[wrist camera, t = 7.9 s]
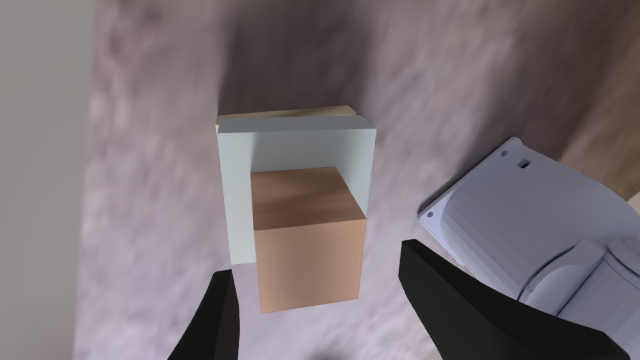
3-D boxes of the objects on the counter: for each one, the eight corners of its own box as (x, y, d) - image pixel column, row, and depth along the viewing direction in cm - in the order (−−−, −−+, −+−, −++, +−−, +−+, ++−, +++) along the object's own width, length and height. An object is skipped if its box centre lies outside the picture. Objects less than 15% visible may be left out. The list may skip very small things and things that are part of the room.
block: (335, 166, 18) (366, 219, 13) (332, 234, 20) (358, 298, 15) (250, 172, 17) (253, 230, 12) (256, 243, 19) (261, 314, 14)
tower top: (361, 115, 19) (376, 128, 17) (350, 227, 23) (361, 250, 21) (220, 118, 18) (217, 133, 15) (232, 238, 21) (231, 264, 19)
